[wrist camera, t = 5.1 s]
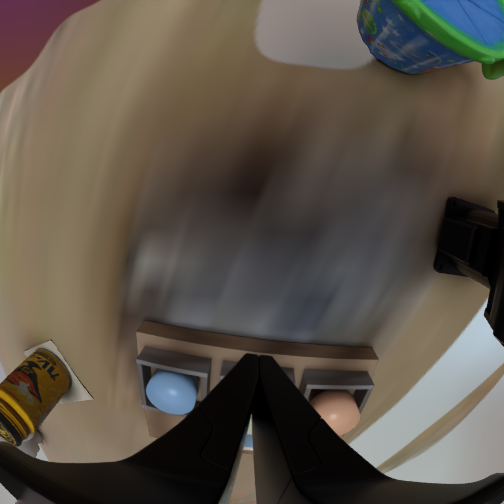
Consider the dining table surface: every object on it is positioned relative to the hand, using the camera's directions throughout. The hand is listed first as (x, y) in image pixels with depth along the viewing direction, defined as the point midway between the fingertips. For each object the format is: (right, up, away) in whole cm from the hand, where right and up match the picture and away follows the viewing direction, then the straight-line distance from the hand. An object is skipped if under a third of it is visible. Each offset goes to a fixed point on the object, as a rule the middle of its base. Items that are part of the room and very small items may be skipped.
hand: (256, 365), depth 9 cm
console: (0, -10, +16) cm, 19 cm away
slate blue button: (-6, -7, +13) cm, 16 cm away
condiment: (-24, -11, +17) cm, 31 cm away
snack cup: (+12, +21, +8) cm, 26 cm away
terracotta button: (+6, -9, +12) cm, 16 cm away
